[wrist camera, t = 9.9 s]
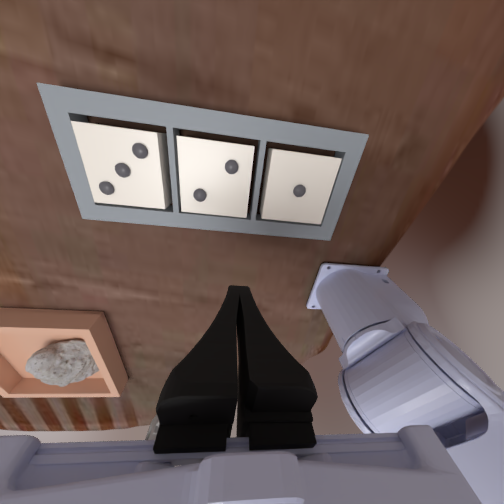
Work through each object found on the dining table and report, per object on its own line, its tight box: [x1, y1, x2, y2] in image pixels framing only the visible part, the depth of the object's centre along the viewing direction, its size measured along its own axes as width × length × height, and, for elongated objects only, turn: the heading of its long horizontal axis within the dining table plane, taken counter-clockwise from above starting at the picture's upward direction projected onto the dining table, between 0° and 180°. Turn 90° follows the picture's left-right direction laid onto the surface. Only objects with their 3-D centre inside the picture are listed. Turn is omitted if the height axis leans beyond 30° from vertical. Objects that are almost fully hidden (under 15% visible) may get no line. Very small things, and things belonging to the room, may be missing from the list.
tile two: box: [177, 136, 255, 218], centre depth 17 cm, size 6×6×3 cm
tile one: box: [259, 148, 342, 224], centre depth 18 cm, size 6×6×3 cm
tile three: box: [71, 121, 173, 209], centre depth 17 cm, size 6×6×3 cm
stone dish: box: [0, 307, 129, 398], centre depth 29 cm, size 18×18×3 cm
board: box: [37, 83, 369, 241], centre depth 18 cm, size 25×10×2 cm, turn 83°
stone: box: [25, 340, 99, 387], centre depth 30 cm, size 10×5×10 cm
